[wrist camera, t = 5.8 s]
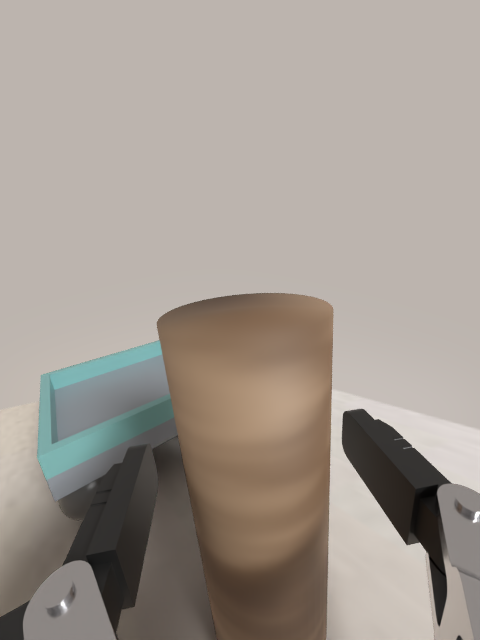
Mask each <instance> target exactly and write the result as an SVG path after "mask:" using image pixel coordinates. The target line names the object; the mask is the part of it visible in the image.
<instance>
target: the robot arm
mask: <svg viewBox="0 0 480 640" xmlns="http://www.w3.org/2000/svg"><path fill="white" fill-rule="evenodd" d="M342 445H343V449H344V452H345V454H346V456H347V458H348V459H349V461H350V462H351V464H352V465H353V467H354V468H355V470H356V471H357V473H358V474H359V475H360V477H361V478H362V480H363V481H364V483H365V484H366V486H367V487H368V489H369V490H370V492H371V493H372V495H373V496H374V497H375V499H376V500H377V502H378V503H379V505H380V506H381V508H382V509H383V511H384V512H385V514H386V515H387V517H388V518H389V520H390V521H391V522H392V524H393V525H394V527H395V528H396V530H397V531H398V533H399V534H400V536H401V537H402V539H403V540H404V542H405V543H406V545H410V544H415V543H419V542H420V543H421V545H422V546H423V547H424V549H425V550H426V555H425V558H426V568H427V576H428V585H429V593H430V602H431V611H432V619H433V628H434V640H480V494H479V493H477V492H476V491H474V490H472V489H470V488H467V487H465V486H462V485H458V484H452V483H451V482H449V481H448V480H447V479H446V478H445V477H444V476H443V475H442V474H441V473H440V472H439V471H438V470H437V469H436V468H435V467H434V466H433V465H432V464H431V463H430V462H428V461H427V460H426V459H425V458H424V457H423V456H422V455H421V454H420V453H419V452H418V451H417V450H416V449H415V448H412V445H411V444H410V443H408V442H407V441H406V440H405V439H403V437H402V436H401V435H400V434H399V433H398V432H397V431H396V430H395V429H394V428H393V427H391V426H389V425H388V424H386V423H384V422H382V421H381V420H379V419H378V420H374V419H373V418H372V417H371V416H370V415H369V414H368V413H367V412H366V411H365V410H364V409H357V410H351V411H345V412H344V413H343V425H342ZM157 491H158V473H157V469H156V464H155V460H154V456H153V451H152V447H151V445H150V444H149V443H148V444H142V445H136V446H130V447H129V448H128V449H127V452H126V454H125V457H124V459H123V462H122V463H118V464H114V465H113V466H112V467H111V468H110V469H109V471H108V472H107V473H106V474H105V475H104V476H103V478H102V480H101V482H100V484H99V487H98V489H97V491H96V495H95V496H94V498H93V500H92V502H91V504H90V508H89V509H88V511H87V513H86V515H85V518H84V520H83V522H82V524H81V526H80V529H79V531H78V533H77V535H76V537H75V540H74V542H73V544H72V546H71V548H70V551H69V553H68V555H67V557H66V559H65V561H64V563H63V565H62V567H60V568H59V569H57V570H56V571H54V572H53V573H52V574H51V575H50V576H49V577H48V578H47V579H46V580H45V581H44V582H43V583H42V584H41V585H40V587H39V588H38V589H37V591H36V592H35V593H34V595H33V597H32V598H31V600H30V601H28V602H27V603H25V604H23V605H22V606H20V607H18V608H16V609H14V610H13V611H11V612H9V613H7V614H5V615H4V616H2V617H0V640H119V638H118V635H117V632H116V631H117V627H118V622H119V618H120V614H121V610H122V609H126V608H130V607H134V606H135V601H136V596H137V591H138V586H139V581H140V576H141V571H142V566H143V561H144V556H145V551H146V546H147V541H148V536H149V531H150V526H151V521H152V516H153V511H154V506H155V501H156V496H157Z"/></svg>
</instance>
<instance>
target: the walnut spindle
mask: <svg viewBox="0 0 480 640" xmlns="http://www.w3.org/2000/svg"><path fill="white" fill-rule="evenodd" d="M157 328H158V333H159V339H160V344H161V350H162V355H163V360H164V365H165V371H166V376H167V381H168V386H169V392H170V397H171V402H172V407H173V412H174V418H175V423H176V428H177V433H178V439H179V444H180V449H181V454H182V460H183V465H184V470H185V475H186V481H187V486H188V491H189V496H190V502H191V507H192V512H193V517H194V522H195V528H196V533H197V538H198V543H199V549H200V554H201V559H202V564H203V570H204V575H205V580H206V585H207V591H208V596H209V601H210V606H211V611H212V617H213V622H214V627H215V632H216V638H217V640H326V623H327V578H328V532H329V486H330V440H331V395H332V348H333V346H332V345H333V307H332V306H331V305H330V304H329V303H328V302H326V301H324V300H321V299H318V298H314V297H309V296H305V295H297V294H285V293H256V294H242V295H232V296H225V297H218V298H213V299H207V300H202V301H198V302H194V303H190V304H187V305H184V306H181V307H178V308H175V309H173V310H171V311H169V312H167V313H166V314H164V315H163V316H161V317H160V318H159V319H158V321H157Z"/></svg>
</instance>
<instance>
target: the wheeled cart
mask: <svg viewBox="0 0 480 640" xmlns="http://www.w3.org/2000/svg"><path fill="white" fill-rule="evenodd" d="M177 435H178V433H177V428H176V423H175V418H174V412H173V407H172V402H171V397H170V392H169V386H168V381H167V376H166V371H165V365H164V360H163V355H162V350H161V344H160V340H159V341H155V342H152V343H148V344H145V345H142V346H138V347H135V348H131V349H128V350H125V351H121V352H118V353H114V354H111V355H108V356H105V357H101V358H97V359H94V360H90V361H87V362H84V363H80V364H77V365H73V366H70V367H67V368H63V369H60V370H56V371H53V372H50V373H46V374H43V375H41V384H40V406H39V429H38V452H37V458H38V461H39V463H40V466H41V468H42V471H43V473H44V476H45V478H46V481H47V483H48V486H49V488H50V491H51V493H52V496H53V498H54V501H57V500H58V502H59V506H60V508H61V510H62V512H63V513H64V514H65V515H66V516H68V517H69V518H71V519H74V520H84V518H85V515H86V513H87V511H88V509H89V508H90V504H91V502H92V500H93V498H94V496H95V495H96V491H97V489H98V487H99V484H100V482H101V480H102V478H103V476H104V475H105V474H106V473H107V472H108V471H109V469H110V468H111V467H112V466H113V465H114V464H118V463H122V462H123V459H124V457H125V454H126V452H127V449H128V448H129V447H130V446H136V445H142V444H148V443H149V444H150V445H151V447H152V449H153V448H155V447H157V446H159V445H161V444H163V443H164V442H166V441H168V440H170V439H172V438H174V437H175V436H177Z"/></svg>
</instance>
